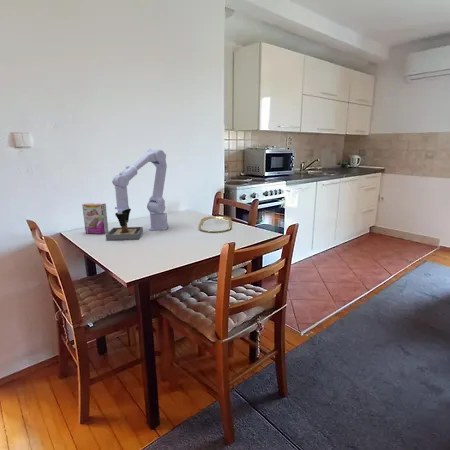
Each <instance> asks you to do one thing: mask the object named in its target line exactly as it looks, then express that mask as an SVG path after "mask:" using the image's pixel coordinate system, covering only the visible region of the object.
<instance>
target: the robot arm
mask: <svg viewBox="0 0 450 450" xmlns="http://www.w3.org/2000/svg"><path fill="white" fill-rule="evenodd" d="M148 163H151V164H153V165H154V166H155V169H156V170H155V176H154V183H153V189H152V195H151V196H150V197H149V199H148V202H147V205H146V209H147V211H149V220H150V227H149V231H163V230H164V231H165V230H167V228H168V227H169V225H168V214H167V213H166V212H165V211H166V201H165V198H164V197H163V195H164V187H165V180H166V174H167V167H168V166H167V155H166V153H165V152H164V150H162V149H152V148H151V149H148V150H146V152H144V153H143V155H142V156H141V157H140V158H139V159H138V160H137V161H136V162H135V163H134V164H133V165H131V164H129V165H126V166H125V169H124V170H123V171H120V172H119V174H116V175H115V176H114V177H113V178H112V181H111V183H112V185H113V186H114V190H115V191H114V192H115V199H116V200H115V201H116V207H114V209H115V210H117V212H115V214H114V215H115V217H116V218H117V219H118V222H119V226H120V227H121V226H125V221H126V220H127V224H128V223H129V219H130V213H131V211H132V209H131V208H130V206H129V198H128V197H129V196H128V185H129V184H130V181H131V180H133V178H134V177H136V176H137V175H138V171H139V170H141V169H142V167H144V166H145V165H146V164H148Z"/></svg>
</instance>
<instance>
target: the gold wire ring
mask: <svg viewBox="0 0 450 450" xmlns="http://www.w3.org/2000/svg"><path fill="white" fill-rule="evenodd" d="M211 219H213V220H215V219H218V220H219V219H222V220H227V221H228V228H227V229H223V230H205V229H202V227H203V225H204V222H203V221H204V220H205V221H208V220H211ZM202 224H203V225H202ZM201 226H202V227H201ZM197 228H198V230H199V231H200V232H204V233H211V234H215V233H216V234H217V233H218V232H219V233H224V231H225V232H228V231H229V230H231V229H232V218H230V217H228V216H219V215H215V216H206V217H203V218H201V220H200V222H199V224H198V227H197Z"/></svg>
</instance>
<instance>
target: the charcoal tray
mask: <svg viewBox="0 0 450 450" xmlns="http://www.w3.org/2000/svg"><path fill="white" fill-rule="evenodd" d="M127 228H128V229H137V233H136V234H114V233H115V232H116V231H117V230H118V229H122V228H121V226H120V227H111V229H110V230H108V232H107V233H106V234H105V241H106V242H107V241H138V240H139V239H140V238H141V237H142V235H143V233H144V228H143V226H127Z"/></svg>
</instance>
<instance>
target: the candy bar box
mask: <svg viewBox="0 0 450 450" xmlns="http://www.w3.org/2000/svg"><path fill="white" fill-rule="evenodd" d="M81 206H82V213H83V222H84V230H85V234H86V235H87V234H89V235H91V234H92V235H96V234H97V235H106V234H107V233H108V232H109V223H108V213H107V203H104V202H85V203H83V204H82V205H81Z"/></svg>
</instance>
